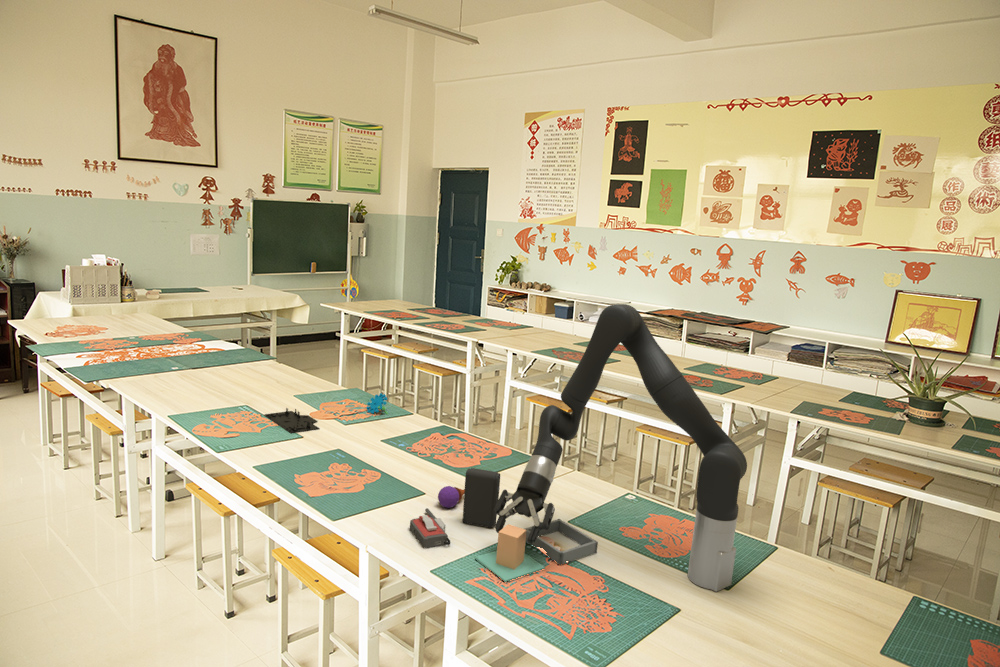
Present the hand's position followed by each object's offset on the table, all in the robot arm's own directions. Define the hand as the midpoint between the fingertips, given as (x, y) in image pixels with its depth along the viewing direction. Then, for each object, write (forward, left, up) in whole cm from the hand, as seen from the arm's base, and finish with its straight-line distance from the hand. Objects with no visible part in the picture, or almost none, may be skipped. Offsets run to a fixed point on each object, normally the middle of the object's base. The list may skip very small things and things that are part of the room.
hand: (513, 537), depth 154 cm
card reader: (+21, -5, -7) cm, 23 cm away
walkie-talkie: (+24, +9, -7) cm, 27 cm away
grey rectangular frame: (+1, -16, -7) cm, 18 cm away
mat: (0, +1, -7) cm, 7 cm away
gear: (+124, -26, -7) cm, 127 cm away
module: (0, 0, -6) cm, 6 cm away
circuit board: (+125, +8, -8) cm, 125 cm away
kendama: (+36, -10, -7) cm, 38 cm away
